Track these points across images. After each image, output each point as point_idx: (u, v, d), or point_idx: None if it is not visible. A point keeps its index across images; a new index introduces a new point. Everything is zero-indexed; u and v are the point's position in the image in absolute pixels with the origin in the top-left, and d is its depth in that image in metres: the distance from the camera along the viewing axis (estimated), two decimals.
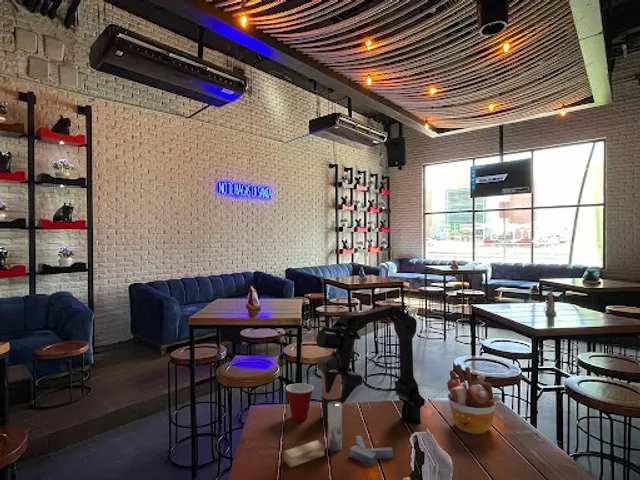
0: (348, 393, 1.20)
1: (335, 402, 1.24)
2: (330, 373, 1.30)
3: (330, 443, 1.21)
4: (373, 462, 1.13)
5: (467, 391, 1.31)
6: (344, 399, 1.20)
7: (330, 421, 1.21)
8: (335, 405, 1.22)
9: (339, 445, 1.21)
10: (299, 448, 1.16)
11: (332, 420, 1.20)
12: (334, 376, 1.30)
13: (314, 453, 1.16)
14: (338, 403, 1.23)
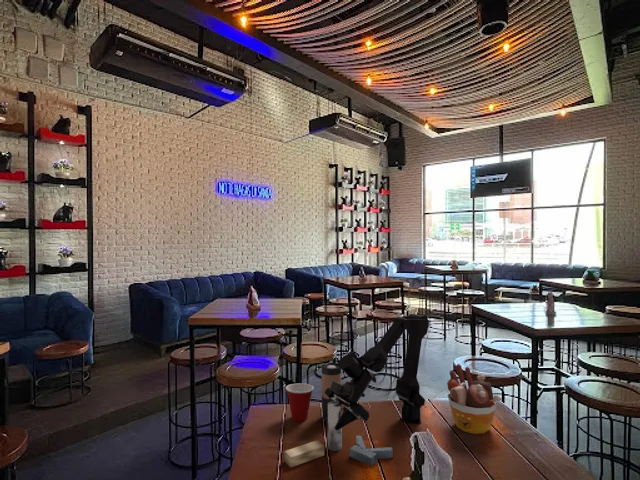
0: (345, 423, 1.20)
1: (335, 402, 1.24)
2: None
3: (330, 443, 1.21)
4: (373, 462, 1.13)
5: (467, 391, 1.31)
6: (339, 427, 1.20)
7: (330, 421, 1.21)
8: (335, 405, 1.22)
9: (339, 445, 1.21)
10: (299, 448, 1.16)
11: (332, 420, 1.20)
12: None
13: (314, 453, 1.16)
14: (338, 403, 1.23)
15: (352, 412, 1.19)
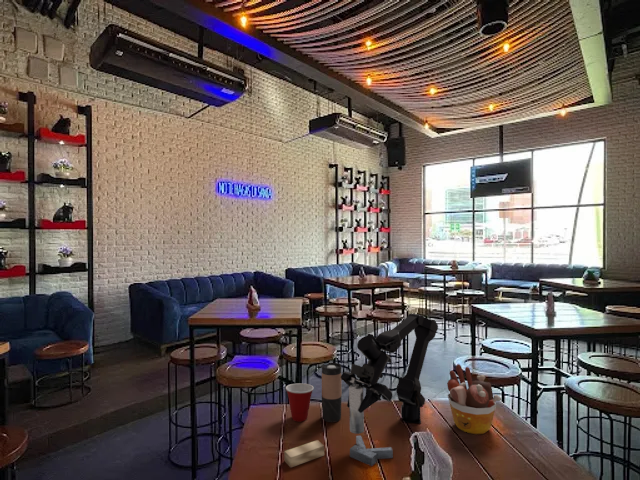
0: (368, 404, 1.19)
1: (355, 385, 1.22)
2: None
3: (353, 426, 1.19)
4: (373, 462, 1.13)
5: (467, 391, 1.31)
6: (363, 409, 1.19)
7: (353, 404, 1.19)
8: (357, 387, 1.20)
9: (362, 427, 1.20)
10: (299, 448, 1.16)
11: (355, 403, 1.19)
12: None
13: (314, 453, 1.16)
14: (358, 385, 1.22)
15: (375, 393, 1.19)
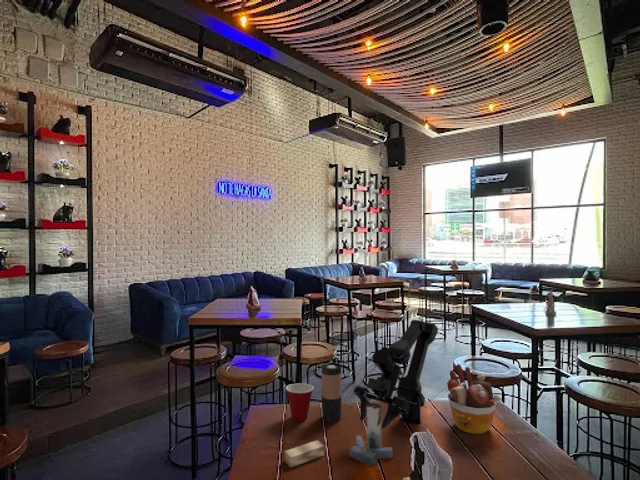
0: (390, 420, 1.19)
1: (372, 404, 1.22)
2: (367, 401, 1.26)
3: (372, 447, 1.18)
4: (373, 462, 1.13)
5: (467, 391, 1.31)
6: (385, 425, 1.17)
7: (372, 424, 1.18)
8: (375, 407, 1.20)
9: (380, 447, 1.19)
10: (299, 448, 1.16)
11: (374, 423, 1.18)
12: None
13: (314, 453, 1.16)
14: (375, 405, 1.22)
15: (398, 408, 1.18)
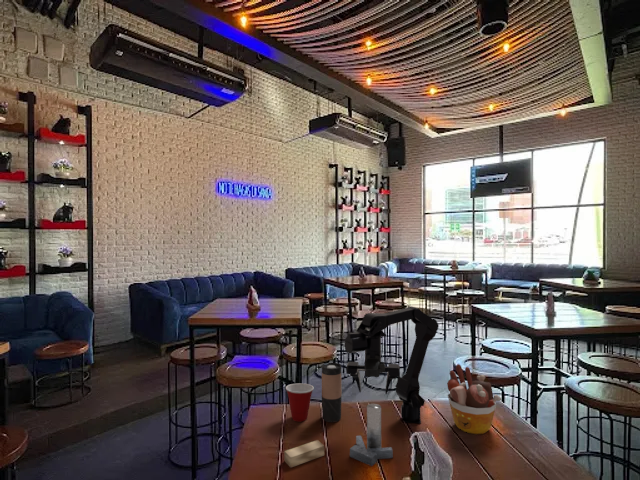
0: None
1: (372, 404, 1.22)
2: (358, 374, 1.35)
3: (372, 447, 1.18)
4: (373, 462, 1.13)
5: (467, 391, 1.31)
6: (387, 390, 1.34)
7: (372, 424, 1.18)
8: (375, 407, 1.20)
9: (380, 447, 1.19)
10: (299, 448, 1.16)
11: (375, 423, 1.18)
12: (359, 374, 1.37)
13: (314, 453, 1.16)
14: (375, 405, 1.22)
15: None
